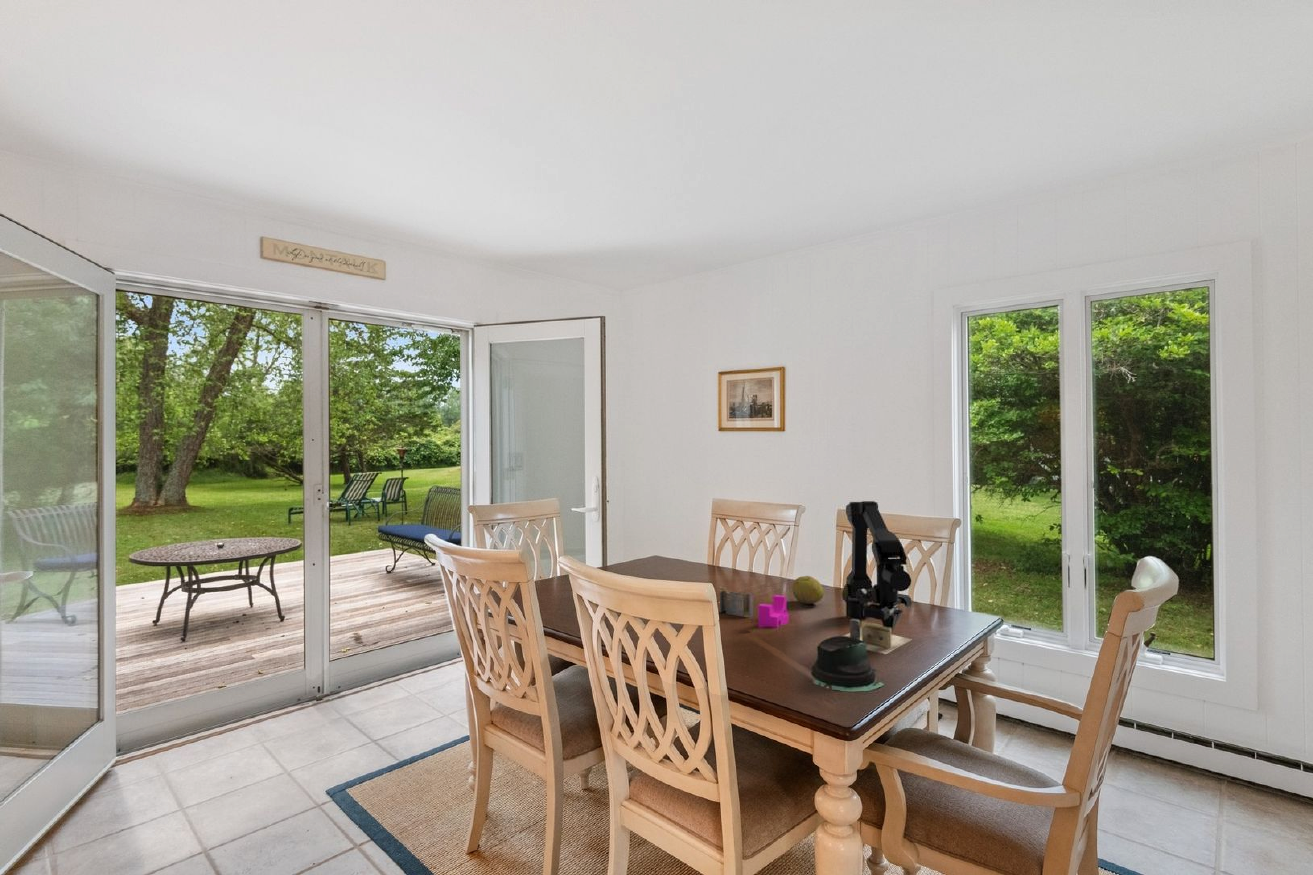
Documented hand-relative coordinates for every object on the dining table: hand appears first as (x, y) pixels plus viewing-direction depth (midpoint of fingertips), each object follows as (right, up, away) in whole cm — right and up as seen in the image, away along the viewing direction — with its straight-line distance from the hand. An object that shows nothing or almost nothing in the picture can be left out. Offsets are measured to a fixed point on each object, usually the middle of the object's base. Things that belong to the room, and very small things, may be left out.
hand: (888, 635), depth 175 cm
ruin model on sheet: (-39, -5, +35) cm, 53 cm away
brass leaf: (-3, -2, 0) cm, 4 cm away
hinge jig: (-3, -4, +4) cm, 6 cm away
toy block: (-27, -4, +24) cm, 37 cm away
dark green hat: (-19, -5, -19) cm, 27 cm away
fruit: (-11, -4, +47) cm, 49 cm away
